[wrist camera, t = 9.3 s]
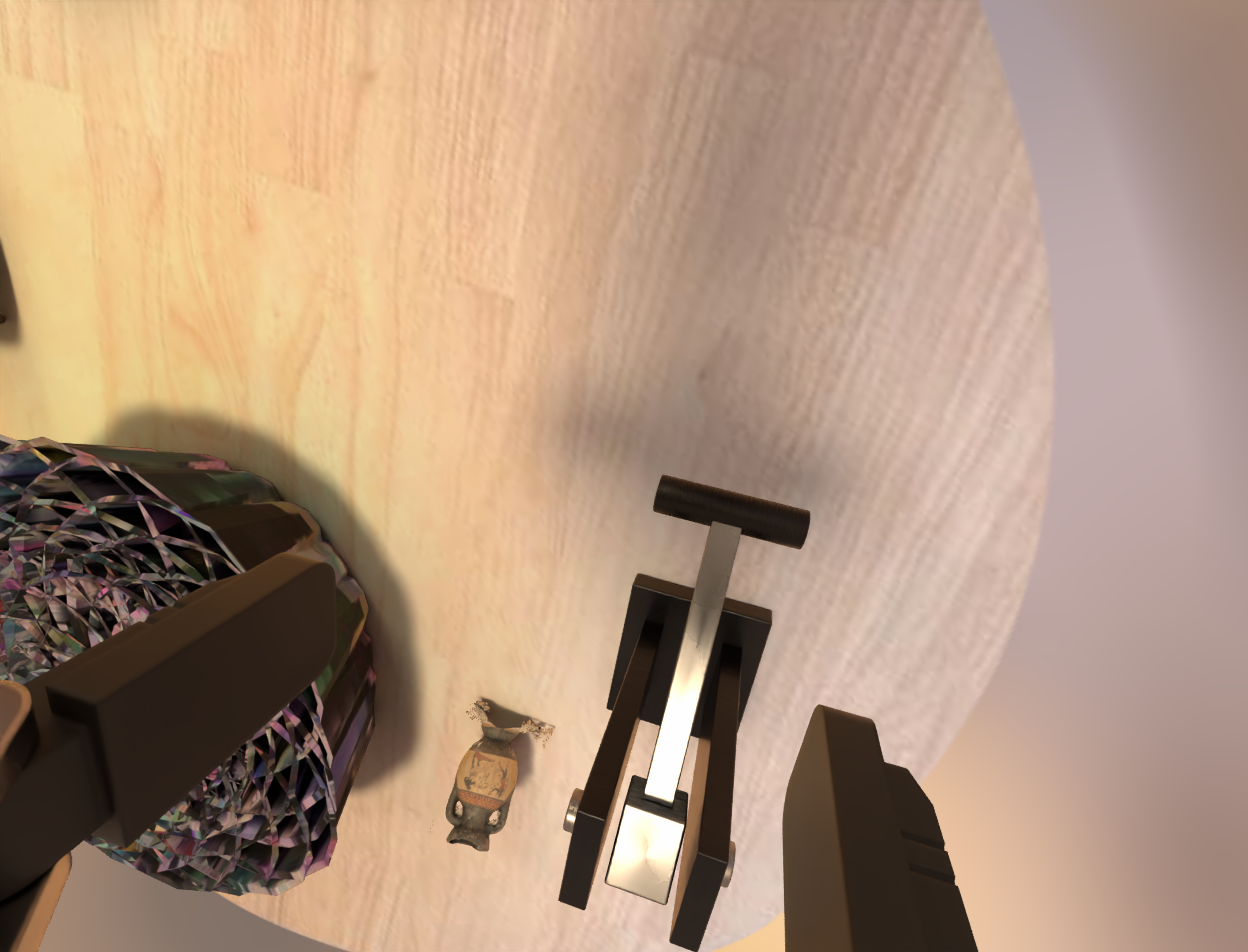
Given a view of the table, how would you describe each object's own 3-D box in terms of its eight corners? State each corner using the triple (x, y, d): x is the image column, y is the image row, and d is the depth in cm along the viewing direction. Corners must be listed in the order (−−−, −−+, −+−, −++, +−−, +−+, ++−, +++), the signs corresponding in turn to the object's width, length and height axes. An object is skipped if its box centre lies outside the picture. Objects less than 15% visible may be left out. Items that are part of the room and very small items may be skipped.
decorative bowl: (159, 727, 46) (12, 847, 37) (12, 383, 36) (-242, 434, 27) (456, 787, 41) (367, 944, 32) (386, 400, 30) (224, 472, 21)
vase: (538, 791, 37) (498, 883, 31) (460, 758, 37) (406, 841, 32) (559, 728, 35) (519, 813, 29) (476, 693, 35) (422, 770, 30)
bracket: (637, 572, 30) (555, 758, 18) (772, 610, 29) (776, 833, 17) (611, 695, 33) (524, 925, 21) (733, 733, 32) (714, 997, 20)
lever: (664, 477, 23) (660, 471, 21) (804, 511, 22) (816, 510, 20) (573, 831, 23) (557, 868, 20) (713, 882, 22) (714, 924, 19)
